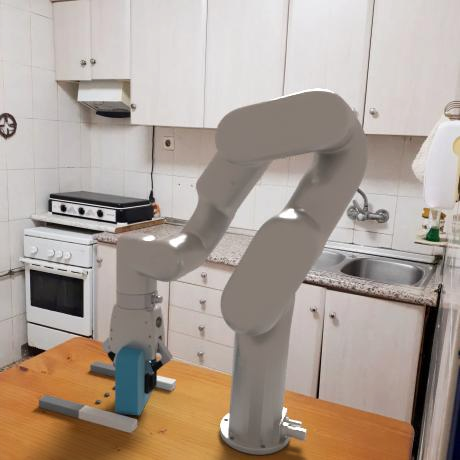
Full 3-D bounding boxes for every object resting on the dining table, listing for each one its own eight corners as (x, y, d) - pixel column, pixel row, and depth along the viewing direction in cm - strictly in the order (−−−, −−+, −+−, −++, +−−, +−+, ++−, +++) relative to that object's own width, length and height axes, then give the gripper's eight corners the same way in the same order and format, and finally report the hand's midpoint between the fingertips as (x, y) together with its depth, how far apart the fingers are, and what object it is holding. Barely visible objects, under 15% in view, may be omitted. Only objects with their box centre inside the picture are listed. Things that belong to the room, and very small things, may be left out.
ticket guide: (175, 386, 98) (176, 379, 98) (131, 433, 81) (131, 425, 81) (95, 367, 104) (95, 361, 104) (38, 407, 87) (38, 399, 87)
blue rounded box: (133, 385, 97) (133, 331, 95) (154, 386, 96) (155, 332, 95) (114, 417, 85) (114, 355, 83) (138, 419, 85) (139, 357, 83)
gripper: (186, 299, 88) (183, 387, 91) (109, 287, 94) (109, 371, 97) (168, 311, 81) (166, 406, 84) (86, 297, 87) (87, 387, 89)
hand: (135, 386), depth 90 cm, fingers closed on blue rounded box, 5 cm apart
